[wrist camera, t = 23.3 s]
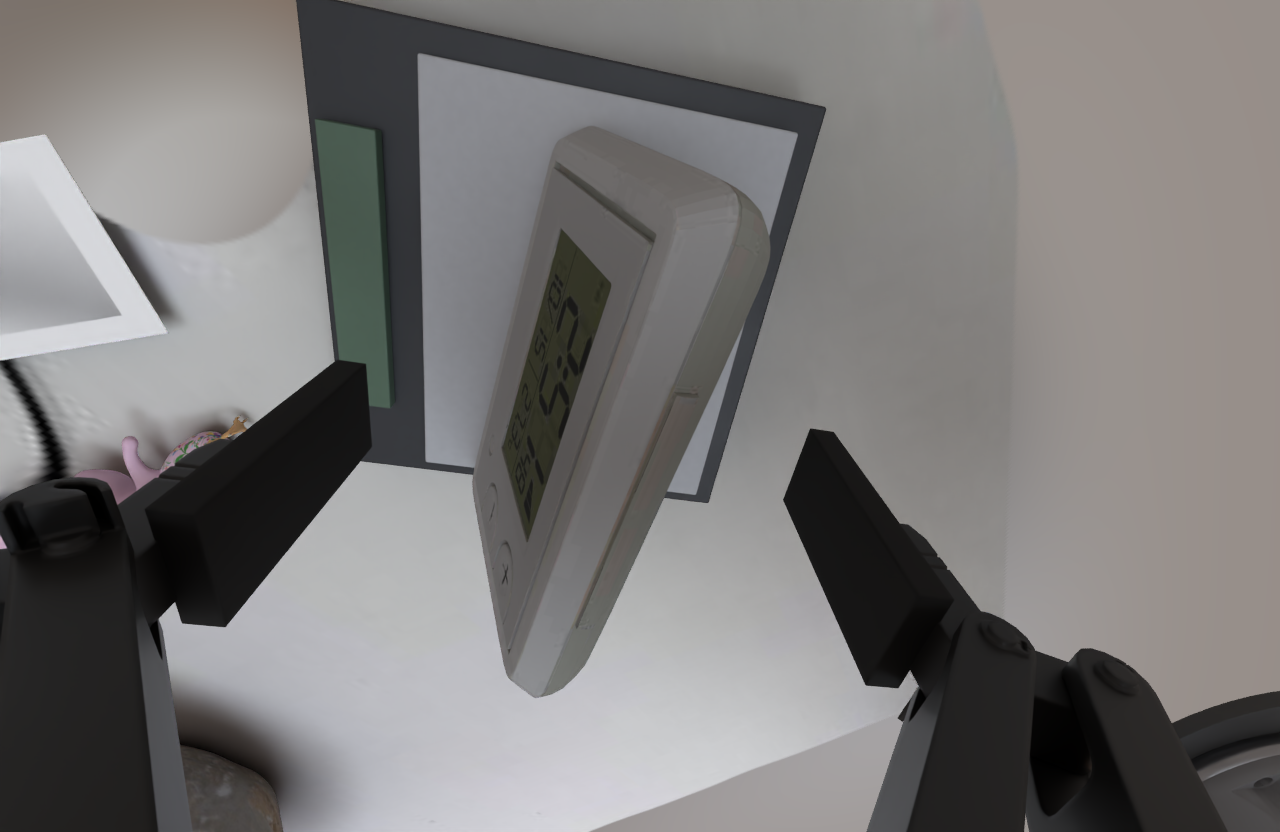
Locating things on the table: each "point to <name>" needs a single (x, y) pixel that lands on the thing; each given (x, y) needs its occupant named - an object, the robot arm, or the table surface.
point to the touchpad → (59, 262)
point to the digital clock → (603, 384)
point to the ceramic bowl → (227, 795)
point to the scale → (496, 205)
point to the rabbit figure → (140, 471)
